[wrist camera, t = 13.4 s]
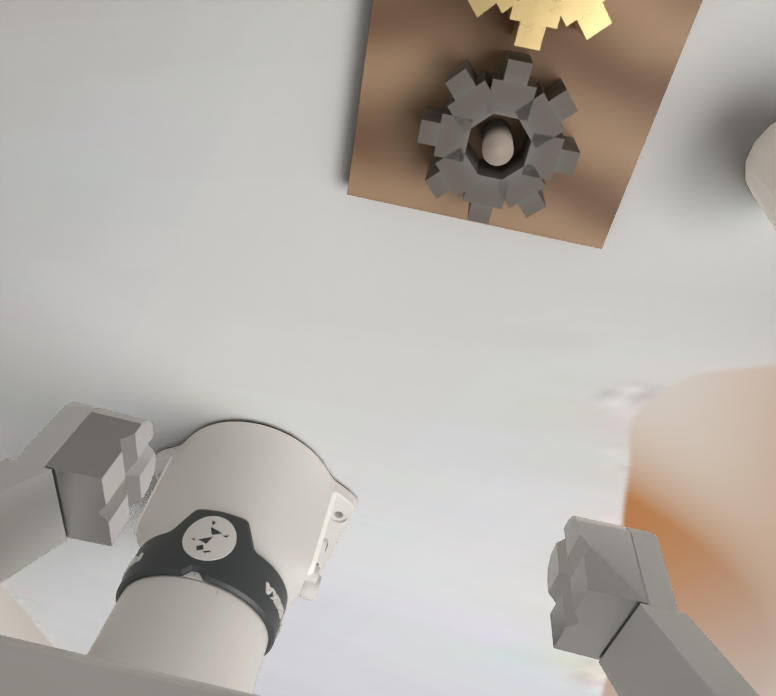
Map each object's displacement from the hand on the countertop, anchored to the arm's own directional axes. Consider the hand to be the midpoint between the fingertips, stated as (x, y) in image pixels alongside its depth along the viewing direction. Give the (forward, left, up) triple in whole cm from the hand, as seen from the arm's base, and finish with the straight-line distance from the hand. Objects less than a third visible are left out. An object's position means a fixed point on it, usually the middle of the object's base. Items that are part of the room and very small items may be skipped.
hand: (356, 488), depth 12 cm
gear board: (+5, -3, -29) cm, 30 cm away
